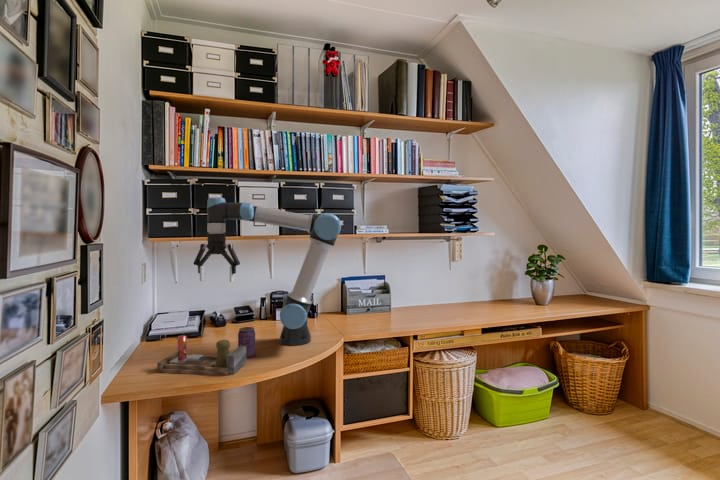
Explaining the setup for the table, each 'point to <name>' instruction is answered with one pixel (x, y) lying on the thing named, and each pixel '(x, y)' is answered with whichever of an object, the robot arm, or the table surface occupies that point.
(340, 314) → the table surface
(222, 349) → the cork
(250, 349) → the beverage can
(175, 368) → the base
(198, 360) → the ram
